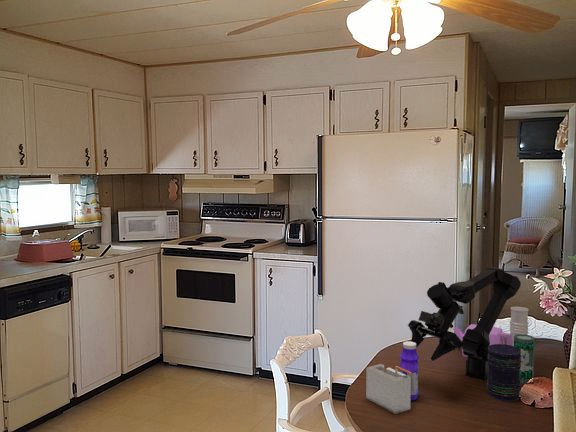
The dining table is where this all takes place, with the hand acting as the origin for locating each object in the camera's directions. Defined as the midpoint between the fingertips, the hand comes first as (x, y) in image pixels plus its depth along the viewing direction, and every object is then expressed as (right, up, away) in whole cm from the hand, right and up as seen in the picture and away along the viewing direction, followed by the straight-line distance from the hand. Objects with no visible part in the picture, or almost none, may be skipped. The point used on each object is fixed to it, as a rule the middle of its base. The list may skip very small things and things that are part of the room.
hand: (420, 355), depth 172 cm
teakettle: (+32, -9, +35) cm, 48 cm away
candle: (+51, -8, +47) cm, 70 cm away
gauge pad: (-8, -12, -5) cm, 15 cm away
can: (+37, -11, +11) cm, 40 cm away
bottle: (-4, -13, -2) cm, 13 cm away
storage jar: (+26, -12, -1) cm, 29 cm away
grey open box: (-12, -13, -6) cm, 19 cm away
